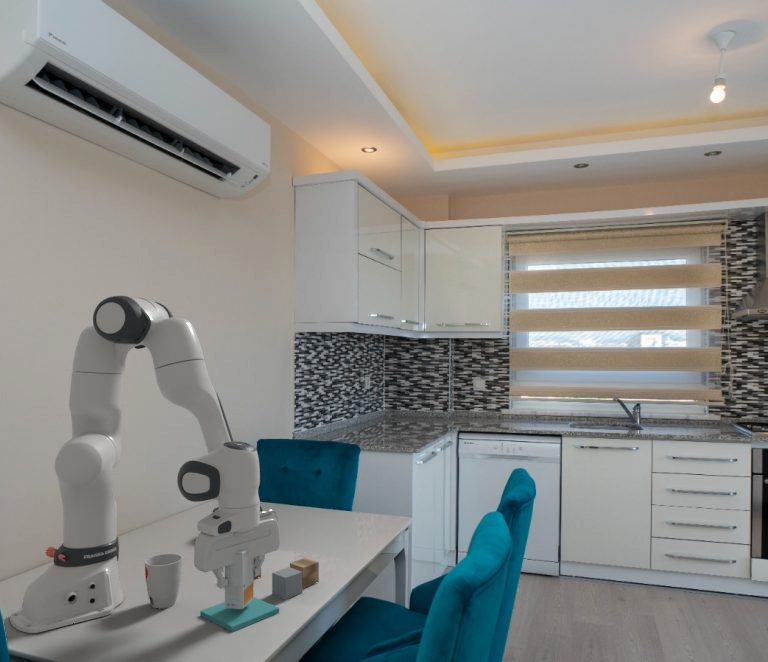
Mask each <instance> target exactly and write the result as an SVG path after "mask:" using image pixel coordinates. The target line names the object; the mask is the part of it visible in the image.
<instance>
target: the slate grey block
mask: <svg viewBox="0 0 768 662" xmlns="http://www.w3.org/2000/svg"><path fill="white" fill-rule="evenodd" d="M271 582H272V585H271V586H272V587H271V589H272V591H271V592H272V595H274V596H276V597H279V598H281V599H283V600H288V599H290V598H293V596H294V597H295V596H298V594H299V595H301V594H303V588H302V572H301V571H298V570H296V569H293V568H290V566H288V567H285V568H283V569H279V570H277V571H273V572H272V573H271ZM300 593H301V594H300Z"/></svg>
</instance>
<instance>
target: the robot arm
mask: <svg viewBox="0 0 768 662" xmlns="http://www.w3.org/2000/svg"><path fill="white" fill-rule="evenodd" d="M92 323H93V325H90V326H88V327H86V328H84V329H83V330H82V331H81V333H80V334H79V337H78V340H77V344H76V348H75V351H74V357H73V361H72V369H71V370H72V371H71V381H70V391H69V400H68V407H69V409H70V410H69V411H70V416H71V431H72V432H71V433H72V435H71V439H69V440H68V441H67V442H65V443H64V444H63V445H62V446H61V447H60V449H59V450H58V452H57V454H56V458H55V461H54V471H55V474H56V475H57V476H56V477H58V478H57V479H58V487H59V488H58V489H59V492H60V493H59V494H60V498H61V503H62V513H63V514H62V516H63V517H62V520H63V521H62V522H63V523H62V526H63V527H62V531H63V532H62V535H63V537H62V539H63V540H62V544H61V545H60V546H59V547H58V548H55V547H54V546H50V547H47V549H46V550H45V552H44V553H45V555H46V556H47V557H49V558H52V559H53V563H52V565H51V566H49V567H48V569H46V570H45V571H44V572H43V573H41V574H40V575H39V576H38V577H37V578H36V579H35V580H34V581H33V582H31V584H29V585H28V586H27V588H26V589H25V591H24V594H23V595H24V596H23V600H22V607H21V608H18V609H15V610H13V611H12V612H11V614H10V618H9V623H10V625H12V627H13V628H15V630H18V631H21V632H22V633H29V634H37V633H42V632H46V631H50V630H54V629H59V628H62V627H66V626H69V625H73V623H74V624H77V623H83V622H85V621H90V620H93V619H97V618H98V619H99V618H100V617H106V616H109V615H111V614H112V613H113V611H114V610H115V608H116V607H118V606H119V605H120V604H122V603H123V601H124V598H125V595H124V592H123V590H122V585H121V582H120V576H119V568H118V567H119V564H118V561H119V555H120V544H119V537H118V536H117V531H118V528H117V526H118V524H117V522H118V520H117V519H118V517H117V515H118V513H117V512H118V511H117V509H118V505H117V501H116V498H115V497H116V495H115V490H114V484H113V483H114V482H113V470H114V469H115V468H116V467H117V465H118V464H119V462H120V460H121V457H122V453H123V452H122V451H123V447H122V446H123V416H122V413H123V412H122V409H123V408H122V406H123V404H122V403H123V394H124V384H125V371H126V360H127V356H128V353H130V351H131V350H132V349H133V348H134V349H137V350H141V349H145V348H146V349H147V350H148V351H149V352H150V355H151V358H152V363H153V368H154V374H155V379H156V383H157V386H158V388H159V391H160V392H161V395H162V396H163V398H165V399H166V400H167V401H168V402H170V403H172V404H173V405H175V406H176V405H177V406H179V407H182V408H183V409H185V410H187V411H188V412H190V413H191V414H192V415H193V416H194V417H195V418H196V420H197V421H198V424H199V428H200V430H201V432H202V436H203V440H204V442H205V445H206V449H207V453H206V454H204V455H203V454H202V455H200V456H198V457H195V458H192V459H189V460H188V461H185V462H184V463H183V465H182V466H181V467H180V468H179V471H178V473H177V482H176V483H177V487H178V490H179V492H180V494H181V496H183V497H184V498H185V499H186V500H188V501H190V502H194V503H197V502H198V503H200V502H206V501H210V500H216V501H218V507H219V509H217V510H216V511H214V512H213V511H212V512H213V513H210V514H208V515H207V516H205V517H203V518H201V519H199V520H198V521H197V524H196V528H197V531H199V533H198V535H197V536H196V539H195V542H194V552H193V565H194V567H195V568H196V569H197V570H198V571H200V572H202V573H209V572H212V574H213V575H214V576H215V578H216V581H217V582H216V585H217V588H219V589H223V588H224V589H225V587H226V586H228V583H227V582H228V578H225V576H224V575H223V572H225V566H229V565H232V564H234V563H235V552H238V551H241V550H245V549H248V552H249V559H251V558H256V560H255V563H254V577H256V576H259V575H260V568H261V569H262V566H263V564H264V561H265V559H266V558H265V557H266V554H270V553H273V552H276V551H278V550H279V548H280V545H281V537H280V529H279V525H278V521H279V520H278V519H279V517H278V513H277V512H276V511H275V510H273V509H267V510H263V511H262V512H260V506H261V501H260V500H261V499H260V496H259V486H260V483H261V480H260V479H261V476H260V475H261V472H260V471H261V469H260V459H259V455H258V450H257V448H256V447H255V446H253V445H252V444H251V443H248V442H243V441H234V438H233V436H232V432H231V428H230V426H229V423H228V420H227V416H226V413H225V410H224V407H223V404H222V402H221V398H220V397H219V395H218V392H217V391H216V389H215V387H214V386H213V382H212V381H211V378H210V375H209V372H208V368H207V365H206V360H205V357H204V351H203V348H202V345H201V342H200V339H199V336H198V334H197V332H196V330H195V327H194V325H193V324H192V323H191V322H190V321H189V320H188V319H186V318H183V317H179V316H178V317H177V316H175V317H174V315H173V313H172V312H171V310H170V309H169V308H167V307H166V306H165V305H164V304H162V303H160V302H158V301H152V300H149V299H147V298H143V297H133V296H132V297H131V296H126V295H113V296H109V297H107V298H104V299H103V300H102V301H100V302H99V304H97V306H96V307H95V309H94V311H93V315H92Z"/></svg>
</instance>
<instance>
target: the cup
mask: <svg viewBox="0 0 768 662" xmlns="http://www.w3.org/2000/svg"><path fill="white" fill-rule="evenodd" d="M183 558H184V557H183V556H182V555H181V554H178V553H162V554H157V555H153V556H150V557H148V558H146V559H145V560H144V573H145V574H144V575H145V584H146V591H147V596H148V599H149V602H150V605H151V607H152V608H154V609H156V608H159V609H161V608H162V609H166V608H171V607H172V605H173V606H174V605H175V604H176V602H177V598H178V594H179V591H180V586H181V582H182V572H183V571H182V570H183ZM162 609H161V610H162Z"/></svg>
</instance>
